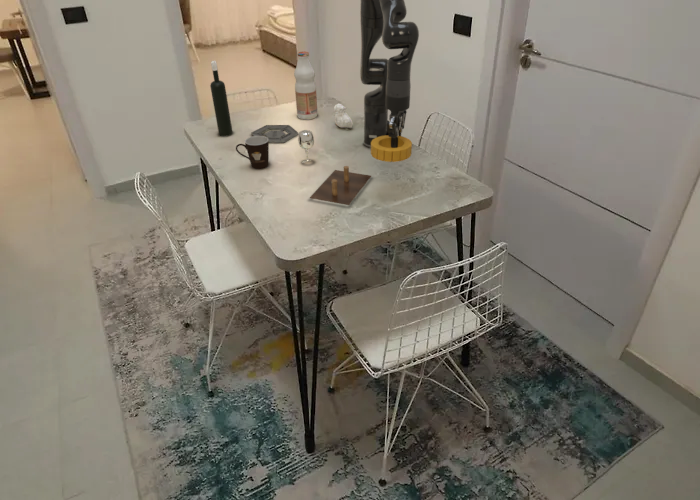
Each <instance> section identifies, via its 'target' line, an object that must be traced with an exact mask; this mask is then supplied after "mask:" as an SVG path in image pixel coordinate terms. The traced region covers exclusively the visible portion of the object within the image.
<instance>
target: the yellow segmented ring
mask: <svg viewBox="0 0 700 500" xmlns="http://www.w3.org/2000/svg"><path fill="white" fill-rule="evenodd" d="M412 149H413V142H412V140H411V139H409V138H408V137H405V136H402V135H401V136H398V147H397V148H392V147H391V137H389V136H388V135H385V136H380V137H377V138H375V139H373V140H372V142H371V148H370V155H371V157H372V158H374V159H376V160H377V161H380V162H386V163H398V162H402V161H405V160H406V161H407V160H408V159H409V158H410V157H411V156H412Z"/></svg>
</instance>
